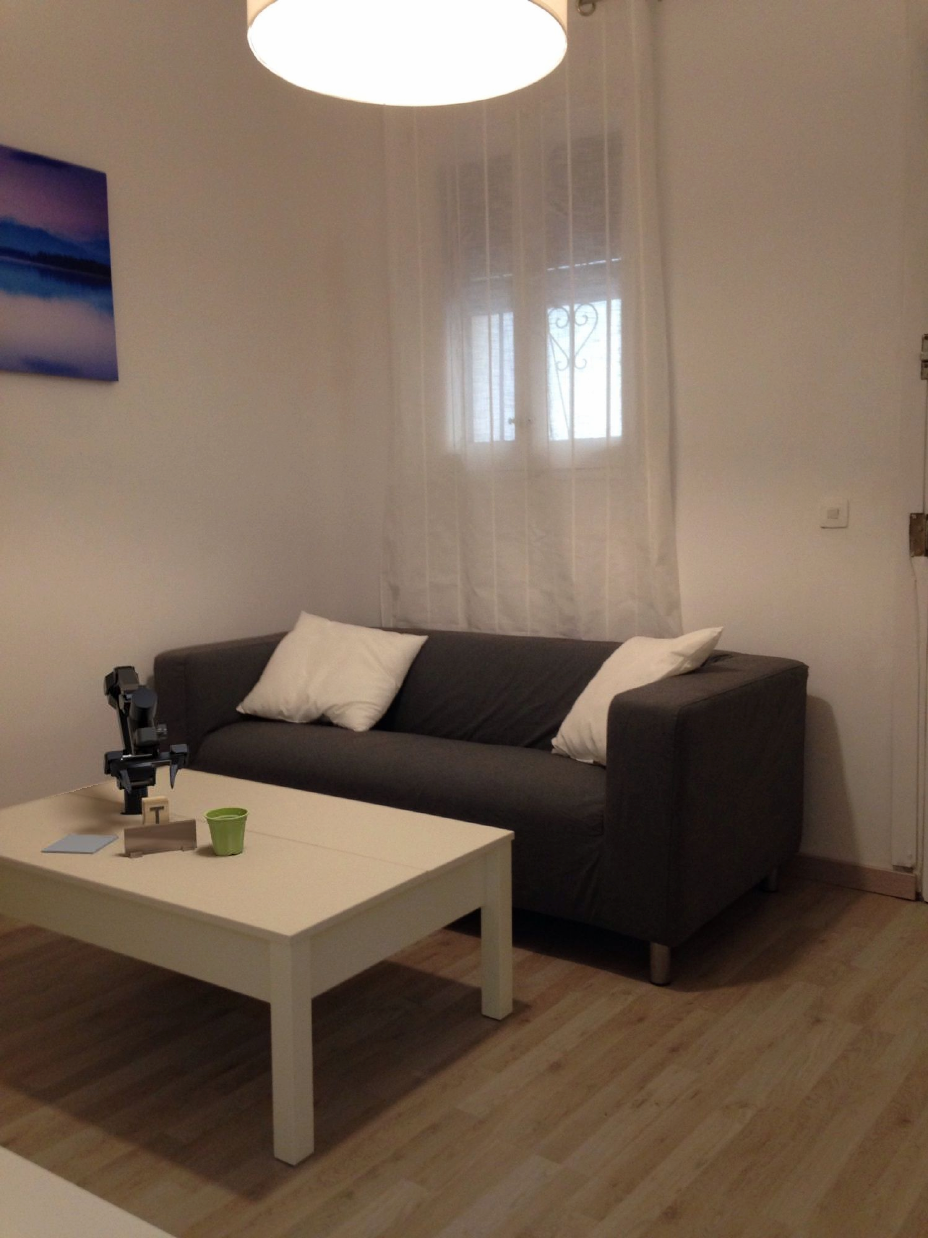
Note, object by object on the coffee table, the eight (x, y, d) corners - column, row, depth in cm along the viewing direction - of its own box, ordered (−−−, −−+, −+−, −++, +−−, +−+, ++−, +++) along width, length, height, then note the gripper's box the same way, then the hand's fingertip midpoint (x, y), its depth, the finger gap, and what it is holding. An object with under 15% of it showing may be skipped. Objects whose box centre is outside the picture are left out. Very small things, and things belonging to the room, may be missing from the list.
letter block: (143, 842, 250) (141, 798, 249) (166, 839, 252) (164, 795, 251) (147, 848, 245) (145, 803, 244) (170, 845, 247) (168, 800, 246)
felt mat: (69, 836, 255) (69, 834, 255) (118, 837, 253) (118, 836, 253) (41, 852, 243) (41, 850, 243) (93, 854, 241) (93, 852, 241)
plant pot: (240, 859, 236) (238, 819, 235) (198, 857, 238) (197, 817, 237) (257, 846, 245) (255, 807, 244) (217, 844, 247) (215, 806, 246)
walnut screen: (124, 853, 241) (123, 826, 240) (194, 844, 247) (193, 817, 247) (126, 858, 237) (125, 831, 237) (198, 849, 243) (196, 822, 243)
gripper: (102, 716, 251) (110, 775, 242) (186, 709, 258) (197, 765, 249) (100, 745, 259) (107, 802, 250) (181, 737, 266) (192, 792, 257)
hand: (151, 790), depth 251 cm, fingers open, 9 cm apart
